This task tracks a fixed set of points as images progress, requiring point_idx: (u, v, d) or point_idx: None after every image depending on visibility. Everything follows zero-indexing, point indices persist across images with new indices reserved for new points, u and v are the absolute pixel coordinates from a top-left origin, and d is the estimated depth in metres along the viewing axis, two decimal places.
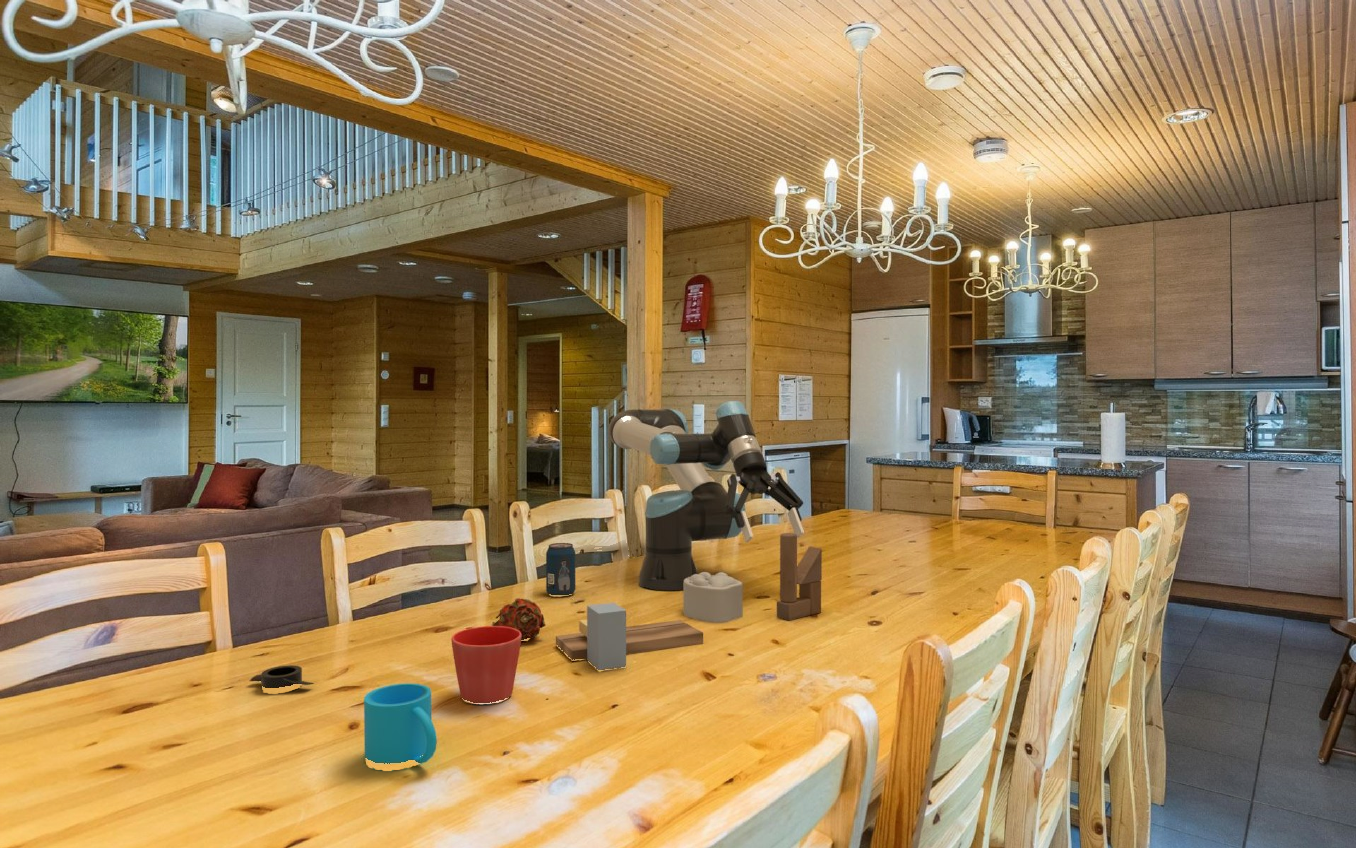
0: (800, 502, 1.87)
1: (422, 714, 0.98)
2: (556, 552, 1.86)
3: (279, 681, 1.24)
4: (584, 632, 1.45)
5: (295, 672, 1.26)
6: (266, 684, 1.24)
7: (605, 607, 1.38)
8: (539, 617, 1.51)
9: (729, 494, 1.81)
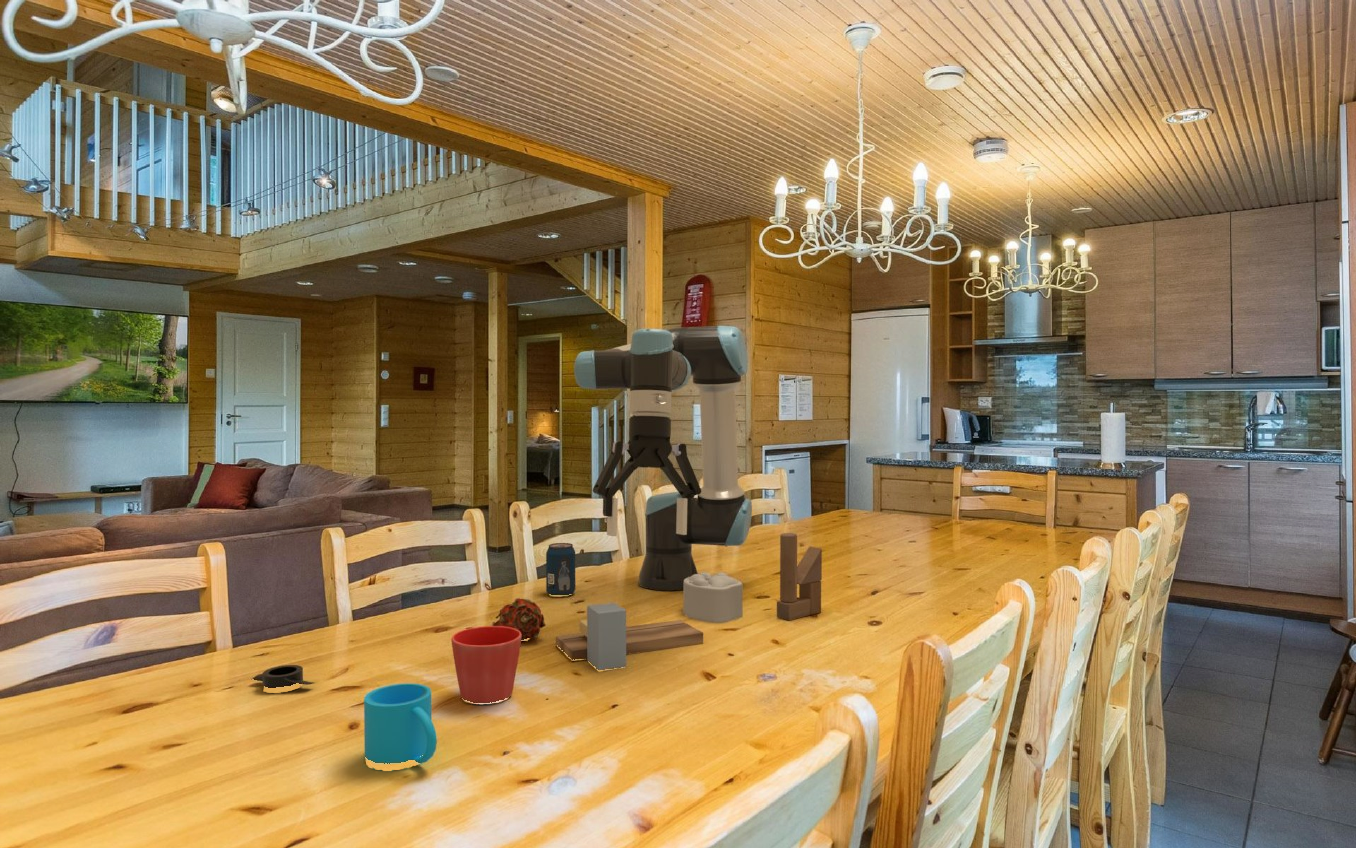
0: (697, 491, 1.44)
1: (422, 714, 0.98)
2: (556, 552, 1.86)
3: (280, 681, 1.24)
4: (584, 632, 1.45)
5: (296, 672, 1.26)
6: (267, 683, 1.24)
7: (605, 607, 1.38)
8: (539, 617, 1.51)
9: (606, 469, 1.37)
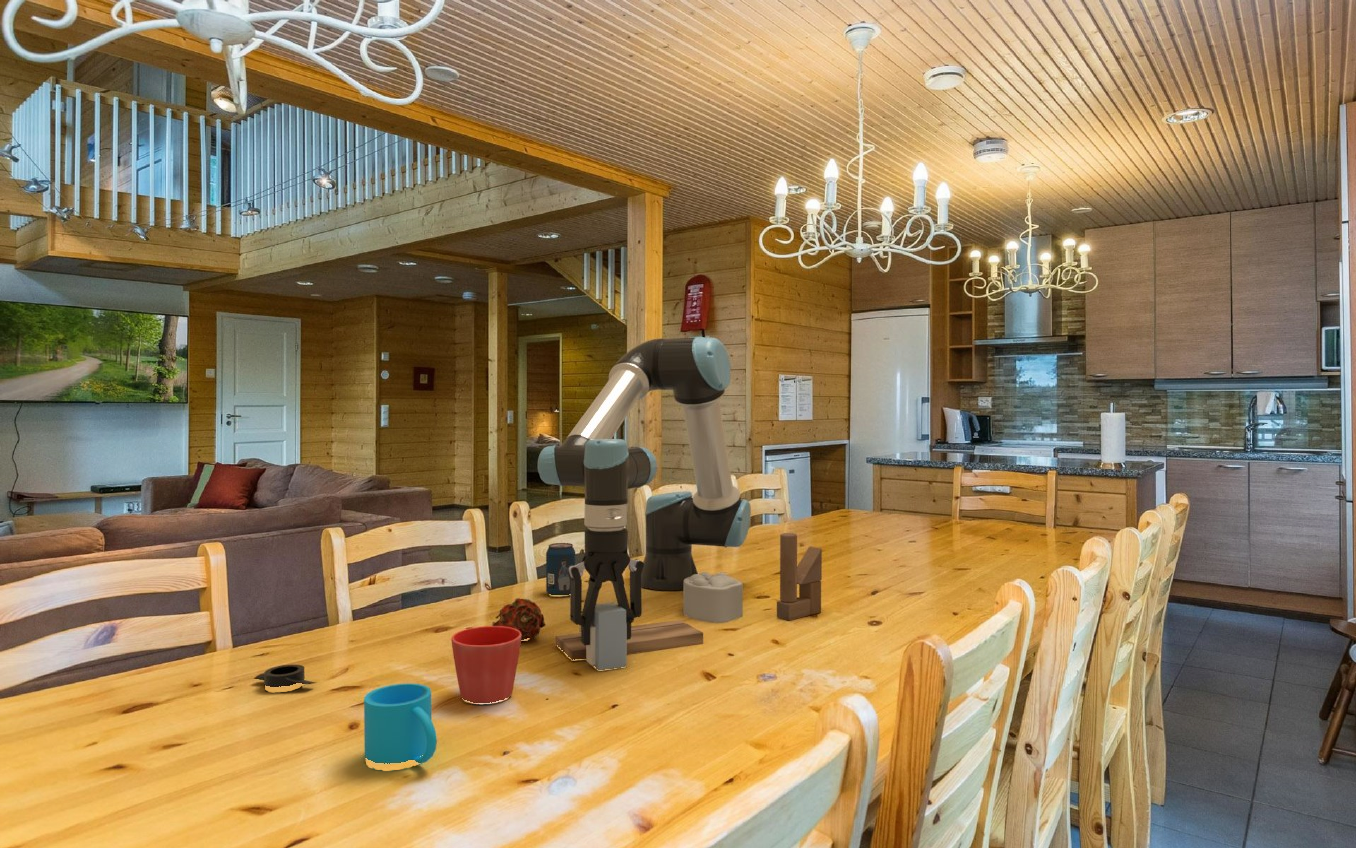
0: (637, 613, 1.39)
1: (422, 714, 0.98)
2: (556, 552, 1.86)
3: (281, 680, 1.24)
4: None
5: (297, 671, 1.26)
6: (269, 682, 1.24)
7: (605, 607, 1.38)
8: (539, 617, 1.51)
9: (573, 598, 1.35)
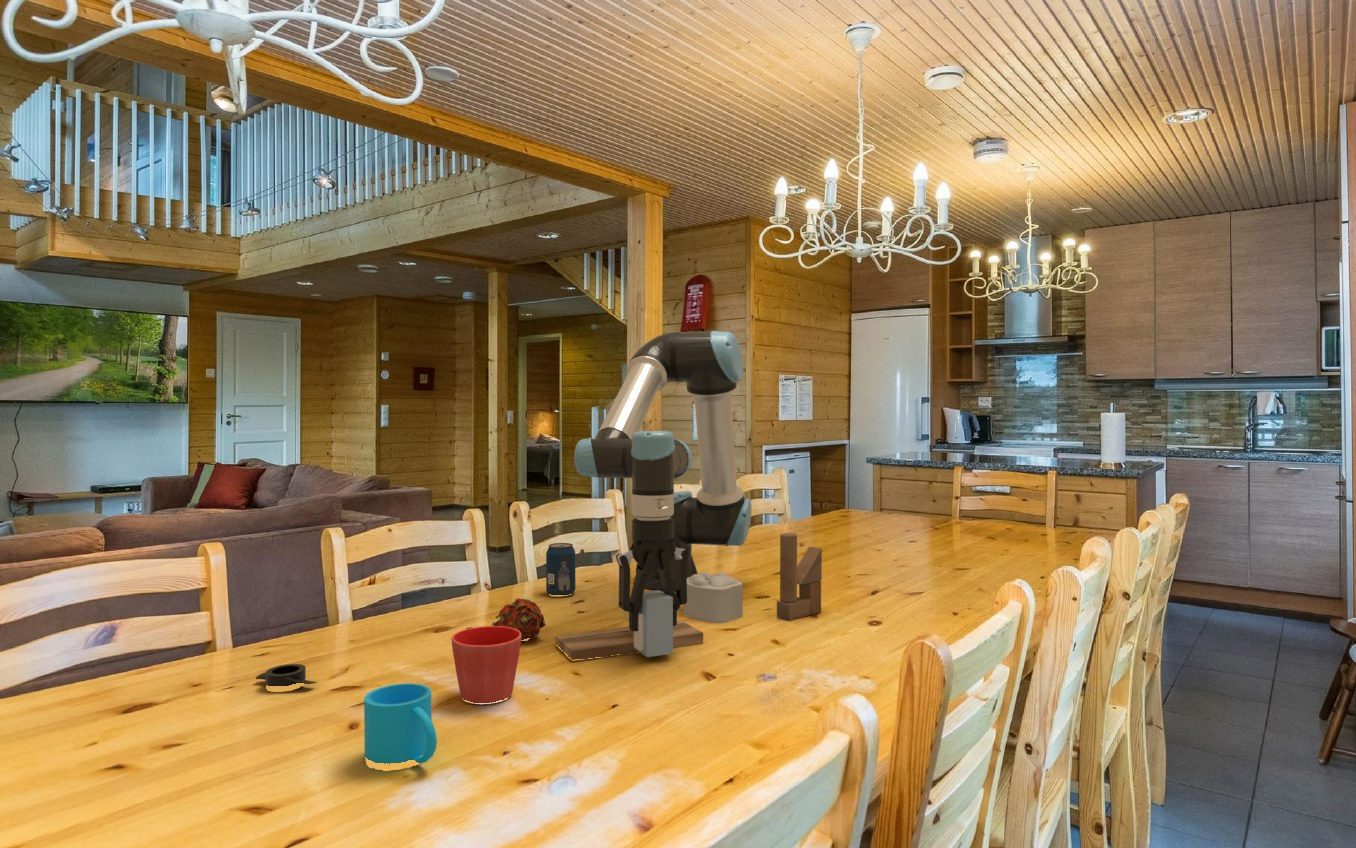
0: (683, 600, 1.43)
1: (422, 714, 0.98)
2: (556, 552, 1.86)
3: (282, 680, 1.25)
4: None
5: (298, 671, 1.27)
6: (270, 682, 1.25)
7: (652, 594, 1.42)
8: (539, 617, 1.51)
9: (622, 586, 1.39)
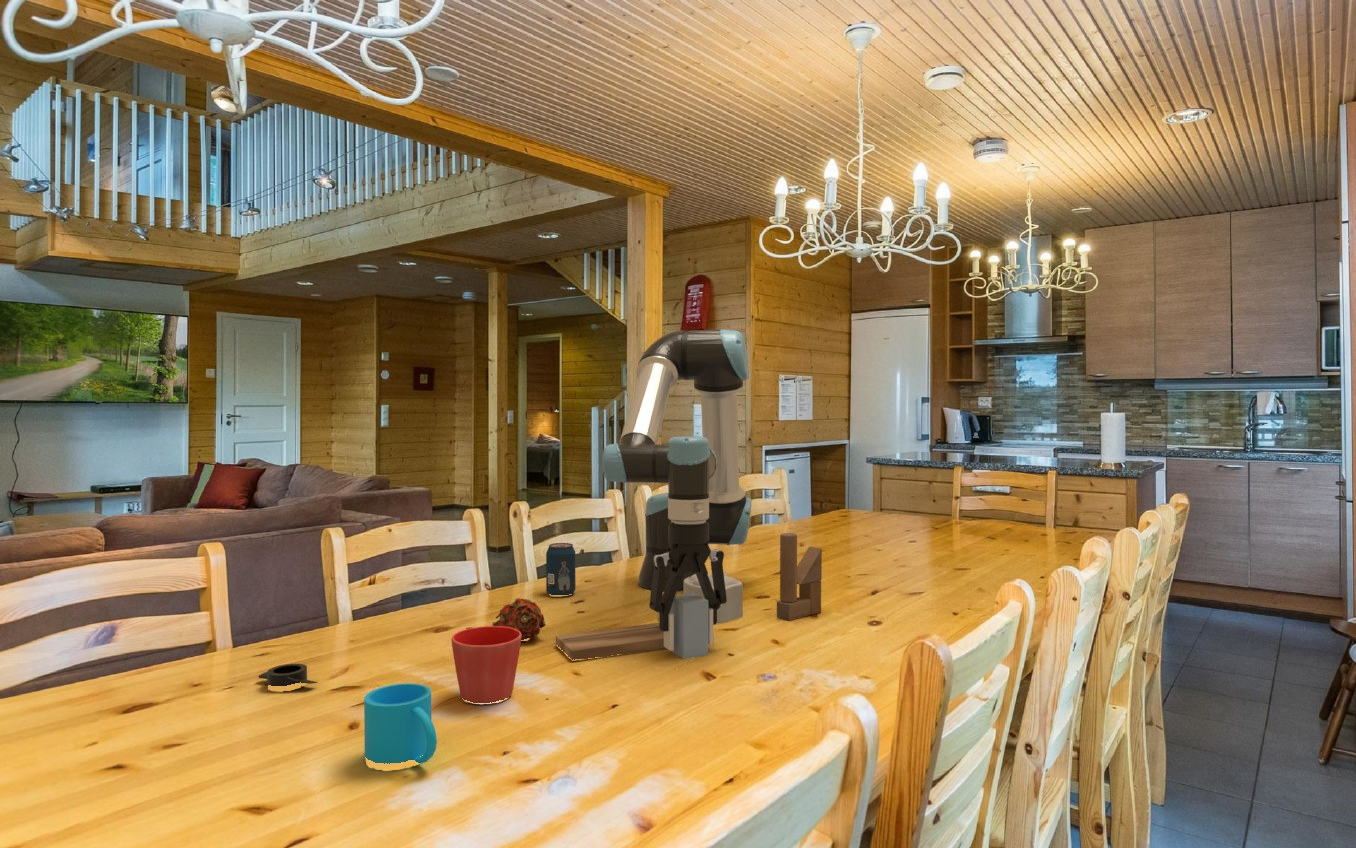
0: (723, 600, 1.46)
1: (422, 714, 0.98)
2: (556, 552, 1.86)
3: (283, 679, 1.25)
4: None
5: (299, 670, 1.27)
6: (271, 681, 1.25)
7: (687, 597, 1.45)
8: (539, 617, 1.51)
9: (655, 586, 1.41)
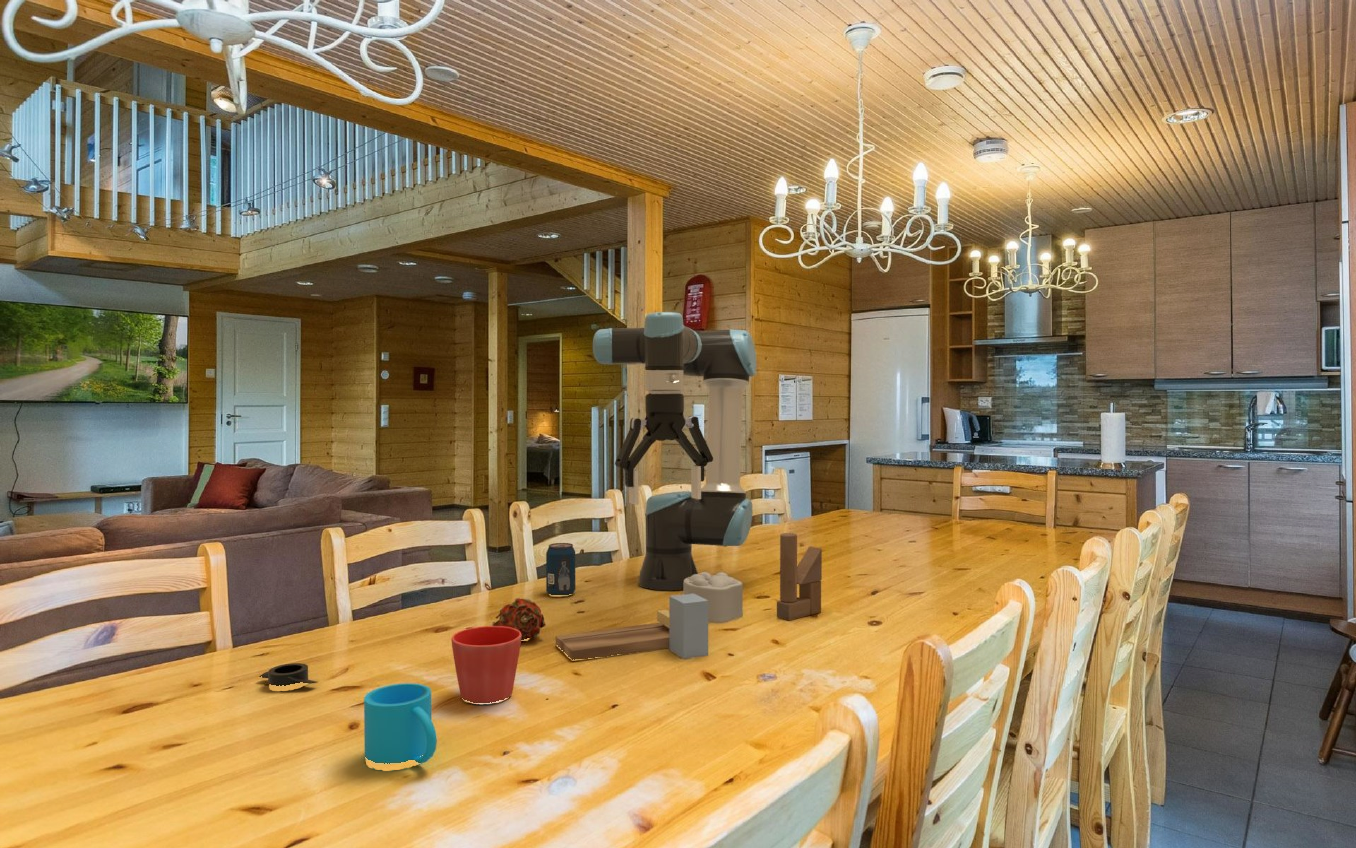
0: (709, 459, 1.57)
1: (422, 714, 0.98)
2: (556, 552, 1.86)
3: (284, 679, 1.25)
4: (663, 622, 1.52)
5: (300, 670, 1.27)
6: (272, 681, 1.25)
7: (687, 597, 1.45)
8: (539, 617, 1.51)
9: (626, 444, 1.50)
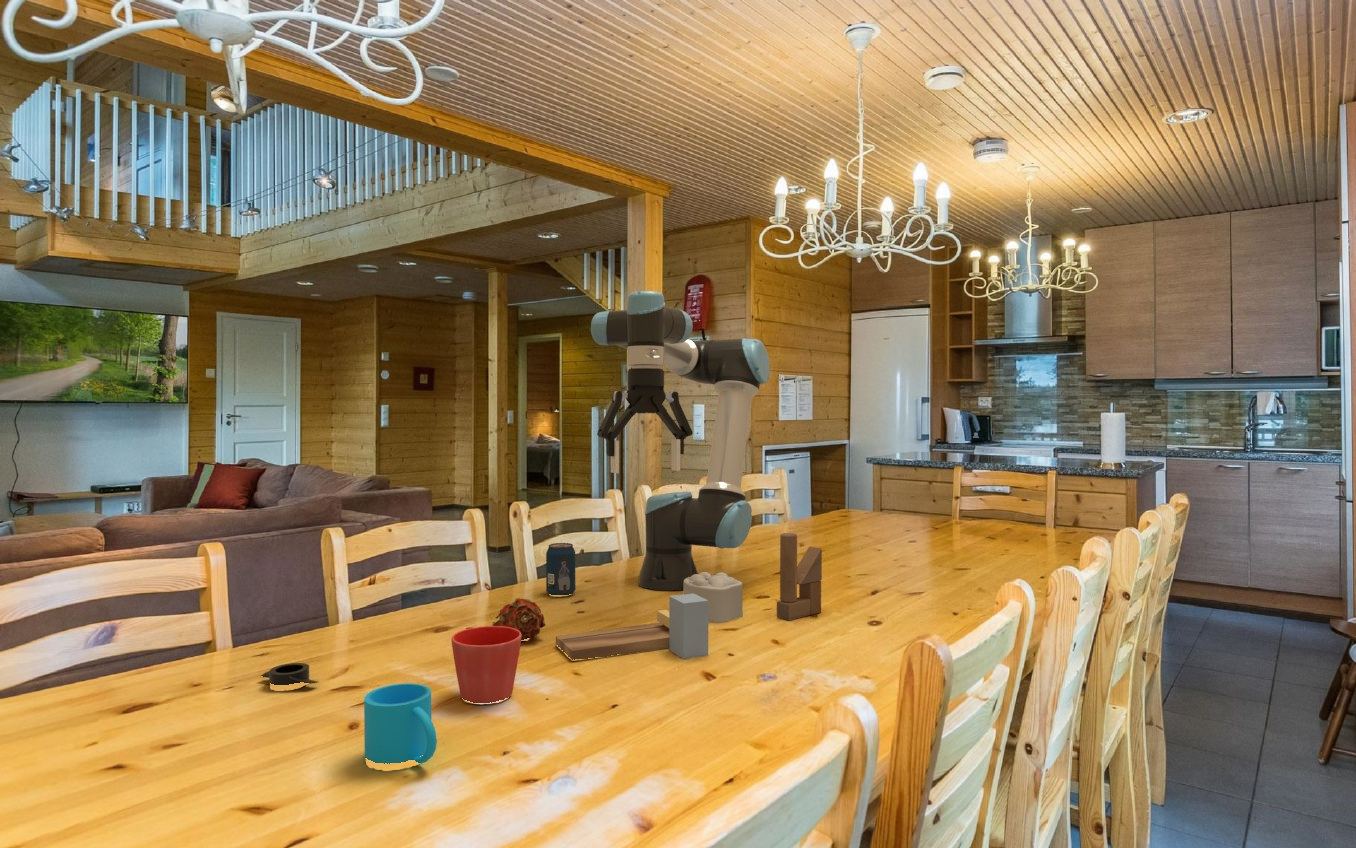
0: (689, 432, 1.65)
1: (422, 714, 0.98)
2: (556, 552, 1.86)
3: (284, 678, 1.25)
4: (663, 622, 1.52)
5: (301, 670, 1.27)
6: (273, 680, 1.25)
7: (687, 597, 1.45)
8: (539, 617, 1.51)
9: (608, 415, 1.58)
